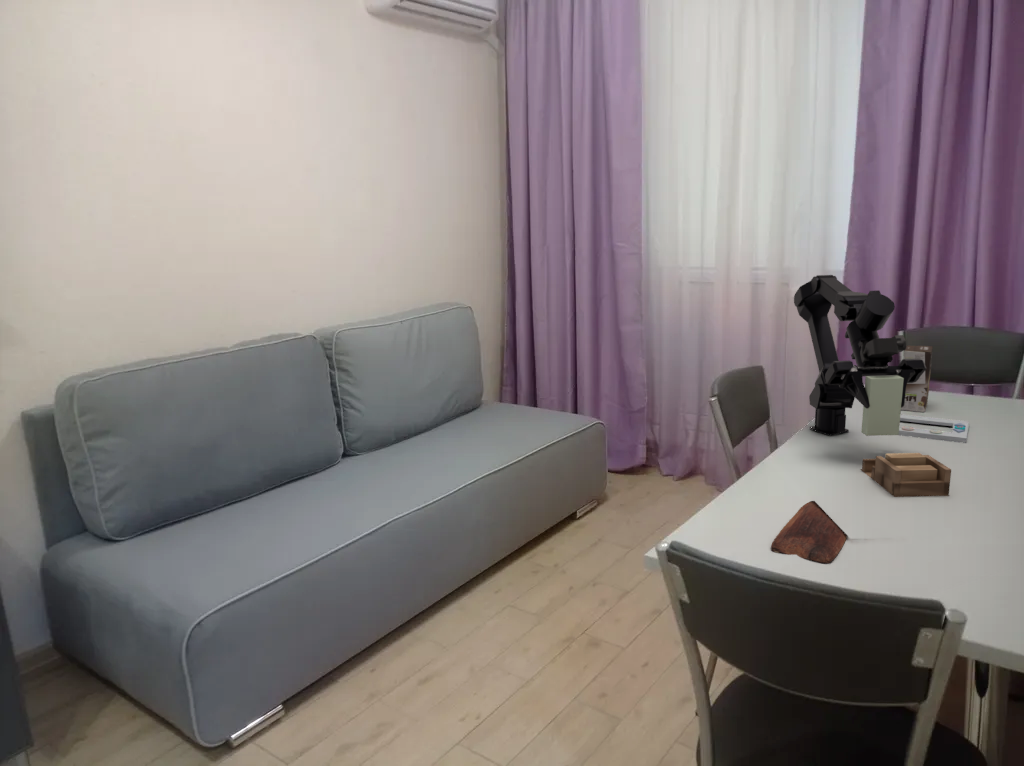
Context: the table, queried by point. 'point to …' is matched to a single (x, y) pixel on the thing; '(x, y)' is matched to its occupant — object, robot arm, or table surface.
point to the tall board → (882, 405)
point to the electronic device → (956, 435)
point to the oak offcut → (906, 459)
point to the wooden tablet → (810, 535)
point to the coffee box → (918, 390)
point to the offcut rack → (892, 483)
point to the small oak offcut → (918, 473)
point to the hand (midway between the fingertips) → (885, 407)
